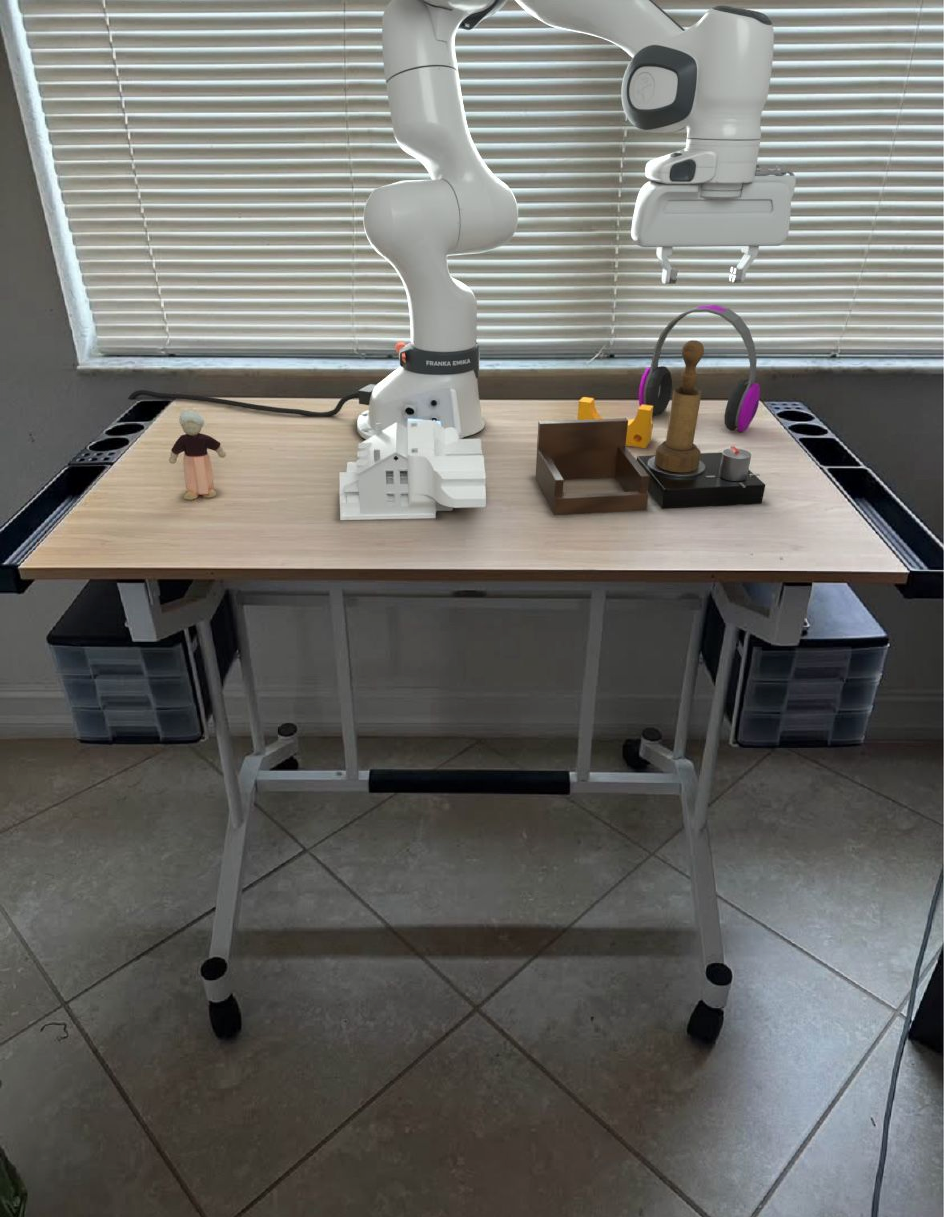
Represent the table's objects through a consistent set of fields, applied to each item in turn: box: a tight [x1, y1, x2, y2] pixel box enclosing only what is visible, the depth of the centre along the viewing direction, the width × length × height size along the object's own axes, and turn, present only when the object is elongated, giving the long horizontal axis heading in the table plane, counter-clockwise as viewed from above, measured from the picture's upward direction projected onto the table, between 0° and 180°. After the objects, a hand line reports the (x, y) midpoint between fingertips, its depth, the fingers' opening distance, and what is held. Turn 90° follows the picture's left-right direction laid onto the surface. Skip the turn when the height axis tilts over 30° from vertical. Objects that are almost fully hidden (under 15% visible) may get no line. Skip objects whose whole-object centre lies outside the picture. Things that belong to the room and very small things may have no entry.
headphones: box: [638, 304, 761, 433], centre depth 147 cm, size 21×9×20 cm, turn 58°
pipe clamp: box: [577, 396, 654, 449], centre depth 143 cm, size 12×4×6 cm, turn 68°
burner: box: [648, 456, 705, 478], centre depth 126 cm, size 8×8×1 cm
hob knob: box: [719, 445, 752, 481], centre depth 122 cm, size 4×4×4 cm
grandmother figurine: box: [168, 409, 227, 501], centre depth 120 cm, size 8×4×13 cm, turn 117°
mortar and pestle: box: [654, 339, 705, 472], centre depth 121 cm, size 7×6×18 cm
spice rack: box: [535, 417, 650, 516], centre depth 122 cm, size 13×13×9 cm
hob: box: [636, 451, 766, 510], centre depth 125 cm, size 16×14×3 cm
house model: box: [339, 420, 487, 521], centre depth 118 cm, size 19×20×10 cm
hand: (702, 282), depth 112 cm, fingers open, 8 cm apart
